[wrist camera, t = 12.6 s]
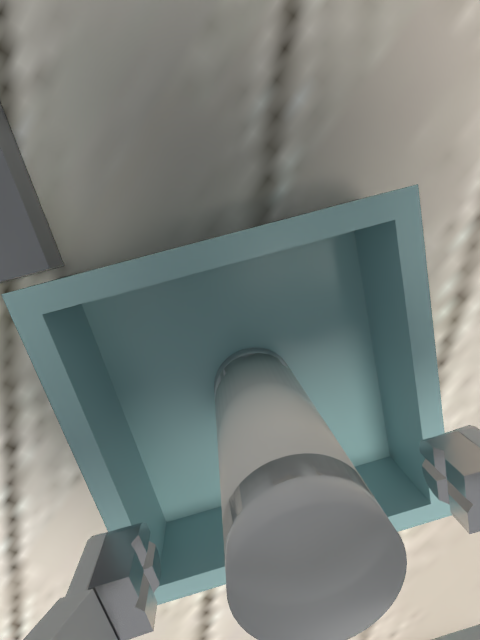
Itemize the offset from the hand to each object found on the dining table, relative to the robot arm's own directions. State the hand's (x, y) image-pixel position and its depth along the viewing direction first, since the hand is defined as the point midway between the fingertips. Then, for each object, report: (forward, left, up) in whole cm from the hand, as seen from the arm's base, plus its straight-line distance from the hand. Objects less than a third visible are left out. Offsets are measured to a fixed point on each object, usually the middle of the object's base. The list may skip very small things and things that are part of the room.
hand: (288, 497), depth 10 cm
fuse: (0, 0, -8) cm, 8 cm away
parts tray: (0, 0, -9) cm, 9 cm away
